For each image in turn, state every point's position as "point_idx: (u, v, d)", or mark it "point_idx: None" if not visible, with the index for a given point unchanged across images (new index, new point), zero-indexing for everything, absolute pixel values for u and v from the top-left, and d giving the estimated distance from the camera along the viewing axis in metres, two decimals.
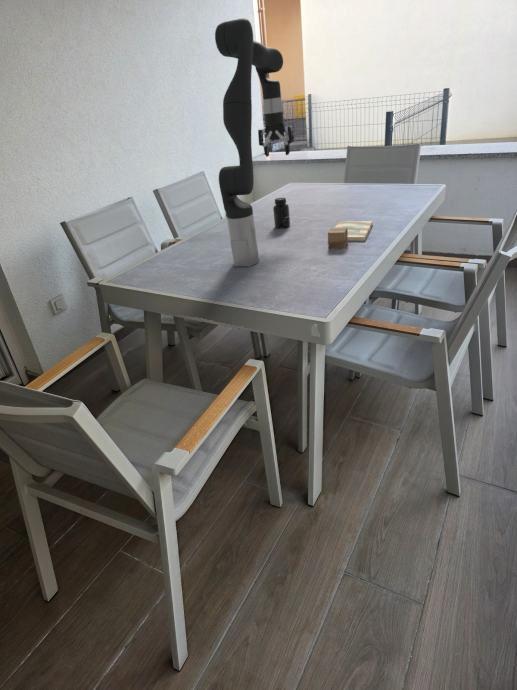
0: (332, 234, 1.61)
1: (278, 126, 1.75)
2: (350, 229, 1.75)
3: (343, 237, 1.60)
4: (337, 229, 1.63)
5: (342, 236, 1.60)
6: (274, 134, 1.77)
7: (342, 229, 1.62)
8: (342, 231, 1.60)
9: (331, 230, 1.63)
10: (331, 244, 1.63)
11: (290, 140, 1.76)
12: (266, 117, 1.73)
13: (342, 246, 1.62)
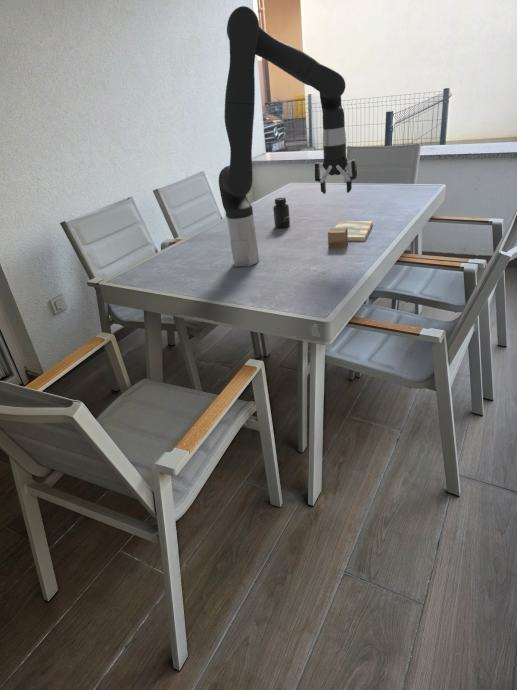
0: (332, 234, 1.61)
1: (340, 160, 1.48)
2: (350, 229, 1.75)
3: (343, 237, 1.60)
4: (337, 229, 1.63)
5: (342, 236, 1.60)
6: (334, 169, 1.51)
7: (342, 229, 1.62)
8: (342, 230, 1.60)
9: (331, 230, 1.63)
10: (331, 244, 1.63)
11: (353, 176, 1.50)
12: (326, 150, 1.46)
13: (342, 246, 1.62)
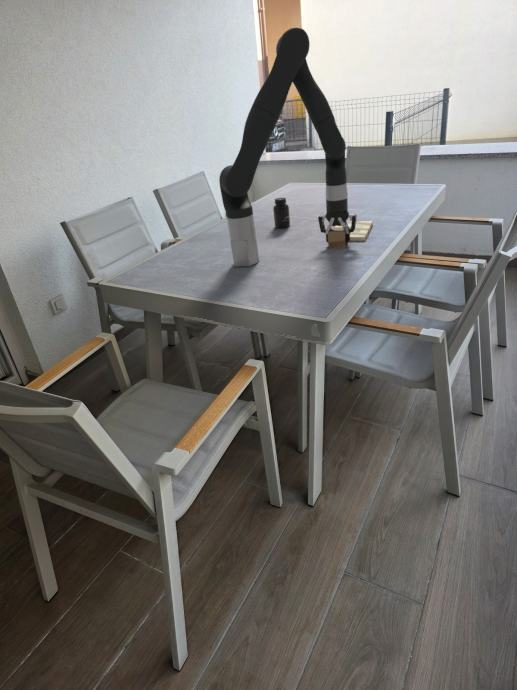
0: (332, 234, 1.61)
1: (341, 213, 1.57)
2: None
3: (343, 237, 1.60)
4: (337, 229, 1.63)
5: (342, 236, 1.60)
6: (336, 220, 1.60)
7: (342, 229, 1.62)
8: (342, 230, 1.60)
9: (331, 230, 1.63)
10: (331, 244, 1.63)
11: (352, 229, 1.59)
12: (329, 204, 1.55)
13: (342, 246, 1.62)
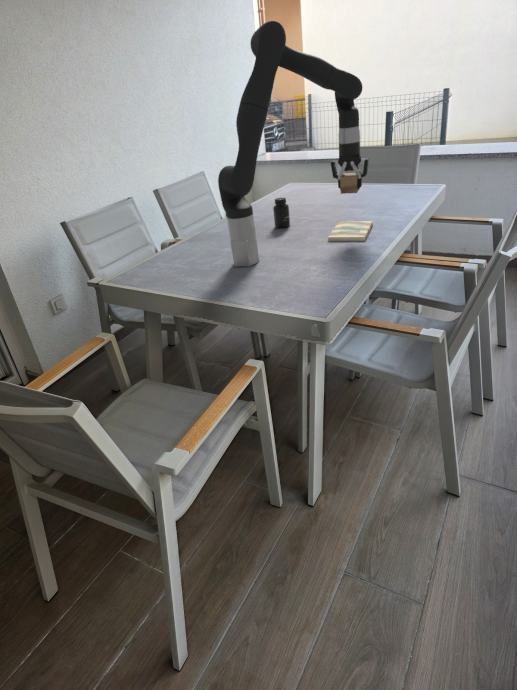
0: (344, 179, 1.64)
1: (354, 157, 1.60)
2: (350, 229, 1.75)
3: (355, 181, 1.63)
4: (349, 174, 1.66)
5: (354, 180, 1.63)
6: (348, 165, 1.62)
7: (354, 174, 1.64)
8: (354, 175, 1.63)
9: (343, 175, 1.65)
10: (343, 189, 1.66)
11: (364, 173, 1.62)
12: (342, 147, 1.58)
13: (354, 190, 1.65)
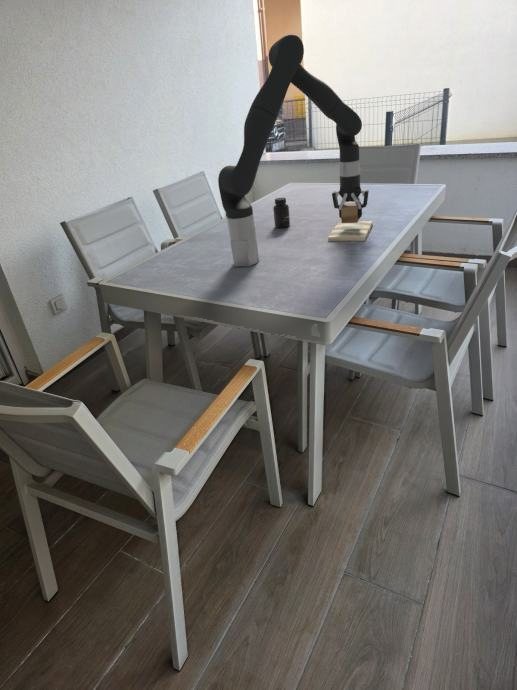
0: (345, 209, 1.69)
1: (354, 188, 1.66)
2: (350, 229, 1.75)
3: (356, 212, 1.69)
4: (350, 204, 1.71)
5: (355, 211, 1.68)
6: (349, 196, 1.68)
7: (354, 205, 1.70)
8: (355, 206, 1.69)
9: (344, 205, 1.71)
10: (344, 219, 1.72)
11: (364, 204, 1.68)
12: (343, 180, 1.64)
13: (355, 220, 1.70)
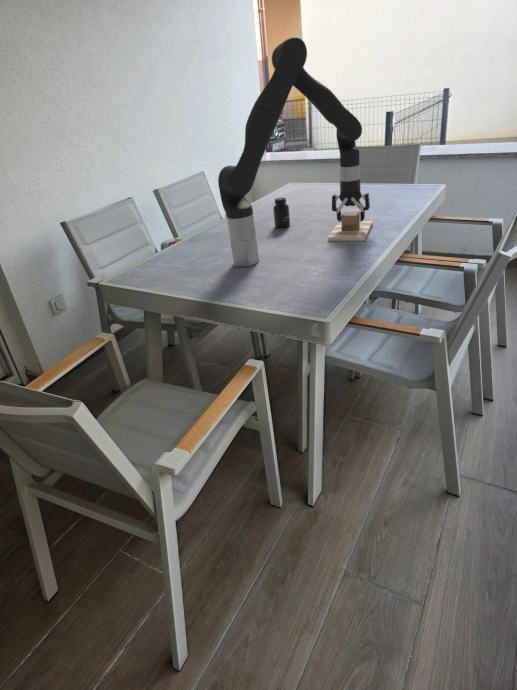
0: (345, 217, 1.71)
1: (354, 193, 1.67)
2: None
3: (356, 220, 1.70)
4: (350, 213, 1.73)
5: (355, 219, 1.70)
6: (349, 201, 1.69)
7: (355, 213, 1.72)
8: (355, 214, 1.71)
9: (344, 214, 1.73)
10: (344, 227, 1.73)
11: (366, 207, 1.68)
12: (343, 184, 1.65)
13: (355, 229, 1.72)
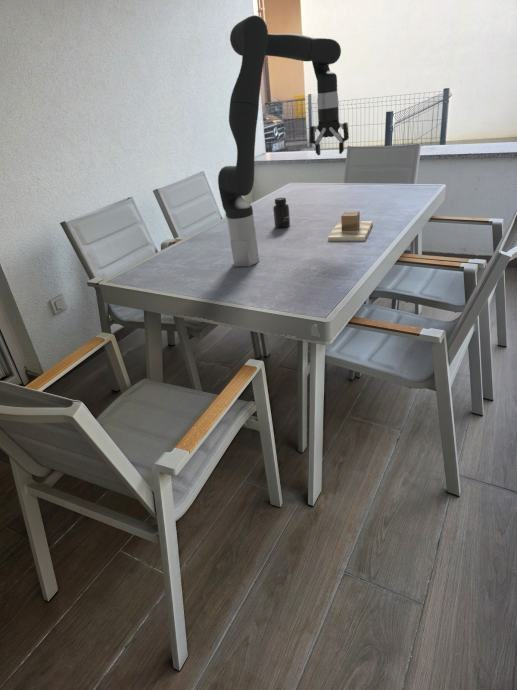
0: (345, 217, 1.71)
1: (333, 122, 1.62)
2: None
3: (356, 220, 1.70)
4: (350, 213, 1.73)
5: (355, 219, 1.70)
6: (328, 131, 1.64)
7: (355, 213, 1.72)
8: (355, 214, 1.71)
9: (344, 214, 1.73)
10: (344, 227, 1.73)
11: (345, 138, 1.63)
12: (320, 113, 1.60)
13: (355, 229, 1.72)
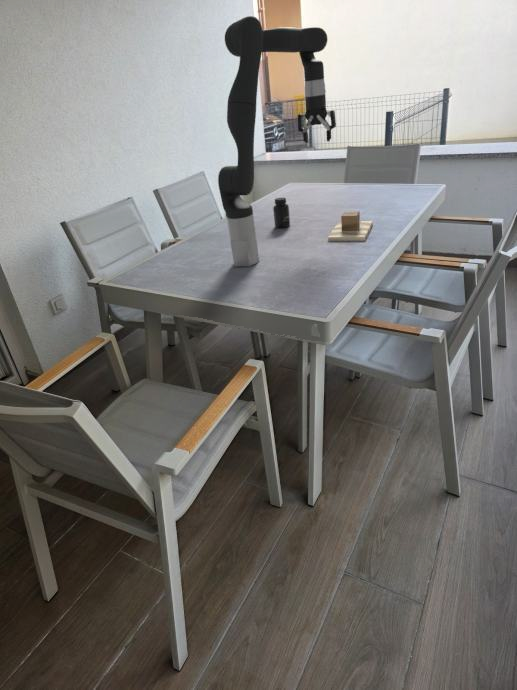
0: (345, 217, 1.71)
1: (320, 110, 1.64)
2: None
3: (356, 220, 1.70)
4: (350, 213, 1.73)
5: (355, 219, 1.70)
6: (315, 119, 1.67)
7: (355, 213, 1.72)
8: (355, 214, 1.71)
9: (344, 214, 1.73)
10: (344, 227, 1.73)
11: (332, 125, 1.65)
12: (308, 100, 1.62)
13: (355, 229, 1.72)
